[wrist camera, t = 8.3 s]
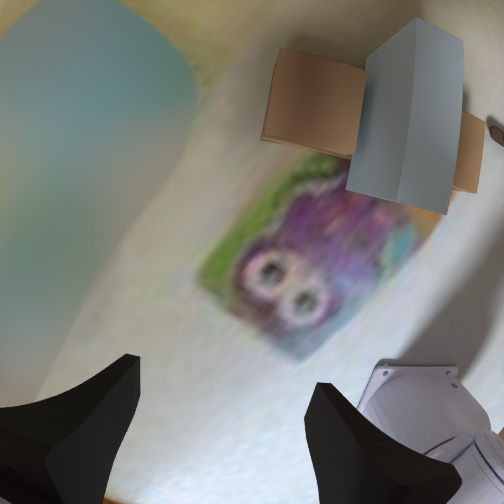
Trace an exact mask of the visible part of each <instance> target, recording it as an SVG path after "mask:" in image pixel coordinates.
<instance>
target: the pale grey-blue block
mask: <svg viewBox="0 0 504 504" xmlns="http://www.w3.org/2000/svg"><path fill="white" fill-rule="evenodd" d="M365 70H367V73H366V81H365V89H364V97H363V104H362V111H361V118H360V124H359V130H358V137H357V143H356V149H355V154H352V158H351V164H350V169H349V174H348V180H347V185H346V190H348V191H353V192H357V193H361V194H365V195H369V196H373V197H377V198H381V199H385V200H389V201H393V202H398V203H402V204H406V205H410V206H414V207H418V208H422V209H425V210H429V211H433V212H437V213H440V214H444V215H447V211H448V206H449V201H450V196H451V191H452V185H453V179H454V173H455V167H456V160H457V152H458V144H459V135H460V125H461V114H462V98H463V40H461V39H459V38H457V37H455V36H454V35H452V34H450V33H448V32H446V31H444V30H442V29H440V28H439V27H437V26H435V25H433V24H430V23H428V22H426V21H424V20H422V19H420V18H418V17H416V18H414V19H413V20H412V21H410V22H409V23H408V24H407V25H405V26H404V27H403V28H402V29H400V30H399V31H398V32H397V33H396V34H394V35H393V36H392V37H391V38H389V39H388V40H387V41H386V42H385V43H383V44H382V45H381V46H380V47H379V48H377V49H376V50H375V51H374V52H373V53H371V54H370V55H369V56H368V57H367V58H366V63H365Z"/></svg>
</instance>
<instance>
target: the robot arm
mask: <svg viewBox="0 0 504 504" xmlns="http://www.w3.org/2000/svg"><path fill="white" fill-rule="evenodd" d="M385 371H386V372H385ZM384 372H385V373H384ZM458 372H459V368H458V367H457V366H437V367H411V366H378V367H377V368H375V370H374V372H373V374H372V376H371V379H370V381H369V384H368V386H367V388H366V390H365V393H364V395H363V397H362V399H361V402H360V404H359V406H358V408H357V409H356V408H355V407H354V406H353V405H352V404H351V403H350V402H349V401H348V400H347V399H346V398H345V397H344V396H343V395H342V394H341V393H340V392H339V391H338V390H337V389H336V388H335V387H334V386H333V385H332V384H331V383H319V382H317V384H316V387H315V390H314V392H313V395H312V398H311V401H310V403H309V406H308V409H307V411H306V414H305V417H304V421H305V432H306V439H307V443H308V448H309V452H310V456H311V459H312V463H313V467H314V471H315V475H316V479H317V485H318V492H319V501H320V504H504V441H503V440H502V438H501V437H499V436H498V435H497V434H496V433H495V432H493V431H491V425H490V420H489V417H488V415H487V413H486V411H485V410H484V409H483V408H482V406H481V405H480V404H479V403H478V402H477V401H476V399H475V398H474V397H473V396H472V395H471V394H470V393H469V392H468V390H467V389H466V388H465V387H464V386H463V385H462V384H461V383H460V382H459V380H458V379H457V378H456V376H457V374H458ZM139 398H140V357H139V356H135V355H130V354H125V355H123V356H122V357H120V358H119V359H118V360H116V361H115V362H113V363H112V364H111V365H109V366H108V367H106V368H105V369H104V370H102V371H101V372H99V373H98V374H96V375H95V376H93V377H92V378H90V379H88V380H87V381H85V382H83V383H82V384H80V385H78V386H76V387H74V388H72V389H70V390H68V391H66V392H64V393H61V394H59V395H56V396H53V397H50V398H47V399H44V400H41V401H38V402H34V403H30V404H26V405H21V406H14V407H5V408H0V504H103V499H104V495H105V491H106V487H107V483H108V479H109V476H110V472H111V469H112V465H113V462H114V459H115V457H116V454H117V452H118V449H119V447H120V445H121V443H122V441H123V438H124V436H125V434H126V432H127V430H128V428H129V425H130V423H131V421H132V419H133V416H134V414H135V411H136V408H137V405H138V401H139Z"/></svg>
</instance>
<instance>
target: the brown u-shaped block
mask: <svg viewBox="0 0 504 504" xmlns="http://www.w3.org/2000/svg"><path fill="white" fill-rule="evenodd" d="M366 73H367V70H364V69H361V68H358V67H354V66H351V65H348V64H344V63H341V62H338V61H334V60H330V59H327V58H323V57H319V56H315V55H311V54H306V53H302V52H298V51H293V50H288V49H284V48H280V51H279V54H278V57H277V61H276V64H275V67H274V72H273V78H272V83H271V88H270V93H269V99H268V104H267V109H266V115H265V120H264V126H263V131H262V136H261V140H264V141H269V142H274V143H279V144H284V145H289V146H294V147H299V148H304V149H308V150H313V151H317V152H321V153H326V154H330V155H334V156H338V157H342V158H346V159H350V160H351V158H352V154H355V149H356V143H357V137H358V130H359V124H360V118H361V111H362V104H363V97H364V89H365V81H366ZM484 133H485V121H483V120H481V119H479V118H477V117H475V116H473V115H472V114H470V113H468V112H466V111H464V110H462V114H461V125H460V135H459V144H458V152H457V160H456V167H455V173H454V179H453V185H452V190H457V191H463V192H469V193H476V194H477V188H478V182H479V175H480V169H481V161H482V153H483V143H484Z"/></svg>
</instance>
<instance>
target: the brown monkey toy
mask: <svg viewBox="0 0 504 504" xmlns="http://www.w3.org/2000/svg"><path fill="white" fill-rule="evenodd" d="M489 131H490V135H491V137H492V139H493V140H494V141H496V142H497V143H499V144H500V145H502V146H503V147H504V132H503V131H501V130H500V129H499V128H497V127H496V126H491V127H490V130H489Z"/></svg>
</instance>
